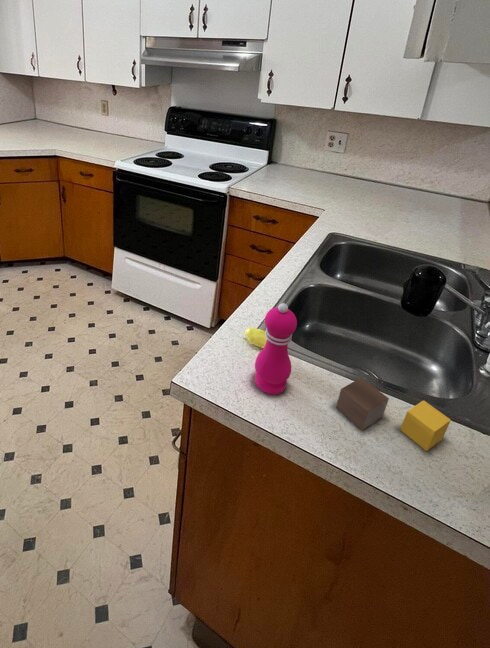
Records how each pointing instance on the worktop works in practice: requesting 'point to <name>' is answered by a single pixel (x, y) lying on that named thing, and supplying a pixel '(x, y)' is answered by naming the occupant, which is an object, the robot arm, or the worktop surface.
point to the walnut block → (362, 403)
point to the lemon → (256, 336)
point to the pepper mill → (275, 350)
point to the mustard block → (425, 425)
